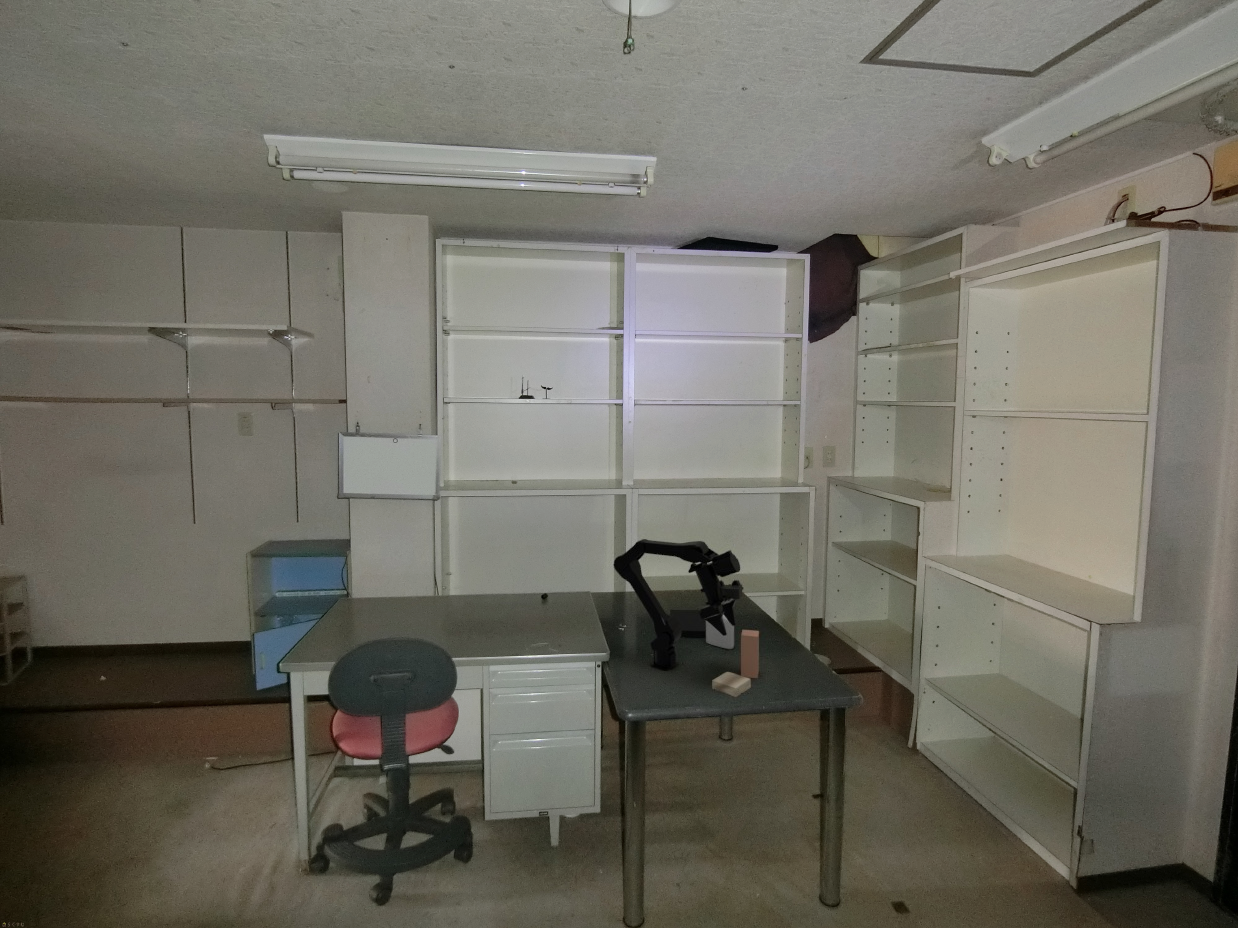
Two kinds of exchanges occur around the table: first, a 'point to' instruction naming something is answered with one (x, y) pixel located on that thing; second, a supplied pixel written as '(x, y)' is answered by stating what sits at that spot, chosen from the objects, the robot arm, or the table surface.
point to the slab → (731, 684)
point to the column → (750, 653)
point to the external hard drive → (690, 623)
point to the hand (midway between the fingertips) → (729, 630)
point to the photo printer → (720, 635)
